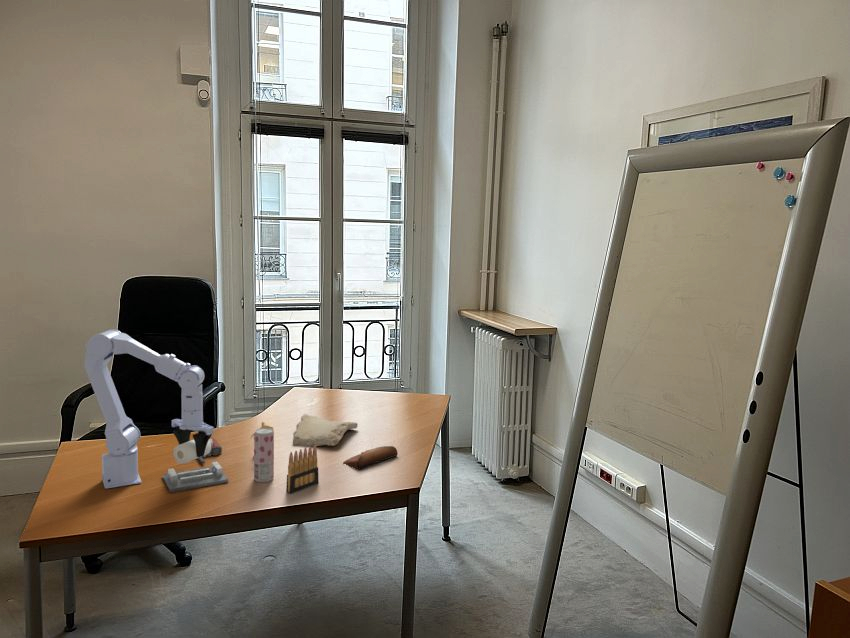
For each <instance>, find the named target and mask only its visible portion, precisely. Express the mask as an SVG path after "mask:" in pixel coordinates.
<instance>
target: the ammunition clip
mask: <svg viewBox="0 0 850 638" xmlns="http://www.w3.org/2000/svg"><path fill="white" fill-rule="evenodd" d="M312 447H313V448H312ZM317 449H318V448H317V446H316V445H314V446H308V449H307V446H305V447H304V449H303V450H302V448H300V449H299V451H297V450H295V451H294V453H293V452H292V451H290V452H289V457H288V465H287V466H288V467H287V475H286V490H285V491H286V493H288V494H294V493H297V492H299V491H302V490H306V489H307V488H309V487H310V488H311V487H313V486H315V485H318V484H319V483H320V482H319V480H320V479H319V467H318V451H317Z"/></svg>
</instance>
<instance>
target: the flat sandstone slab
mask: <svg viewBox="0 0 850 638" xmlns="http://www.w3.org/2000/svg"><path fill="white" fill-rule="evenodd" d="M357 428H358V422H355V421H353V422H351V421H333V420H328V419H325V418H324V419H323V418H321V417H318V416H316V415H309V414H306V413H304V414H302V416H301V417H300V421H298V422H297V423H296V429H295V431H294V432H292V433H293V434H292V435H293V438H292V444H293V445H295V446H303V447H304V446H305V447H310V446H311V447H314V445H316V447H321V446H332V447H333V446H336V445H338V444H339V442H340V441H341V440H342V438H343V436H344V434H345V433H346V432H347V431H348V430H349V431H350V430H354V429H355V430H356V429H357Z"/></svg>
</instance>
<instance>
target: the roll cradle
mask: <svg viewBox="0 0 850 638" xmlns="http://www.w3.org/2000/svg"><path fill="white" fill-rule="evenodd" d="M162 479H163V481H164V483H165V485H166V486H167V488H168V491H169V493H176V492H181V491H186V490H187V489H188V490H193V489H199V488H204V487H205V488H206V487H210V486H216V485H221V484H227V483H229V478H228V476H226V474H225V473H224V472H223V467H222V466H221V465H220V463H219V462H218V461H212V462H211V466H207V467H200V468H194V469H188V470H181V471H176V470H175V469H174V468H172V467H171V468H168V469H167V473H163V474H162Z"/></svg>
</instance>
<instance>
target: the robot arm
mask: <svg viewBox="0 0 850 638" xmlns="http://www.w3.org/2000/svg"><path fill="white" fill-rule="evenodd" d="M84 348H85V349H86V351H85V356H84V362H83V366H84V369H85V371H86V374H87V377H88V379H89V382H90V384H91V385H90V386H91V387H92V390H93V393H94V395H95V398H96V400H97V403H98V406H99V408H100V410H101V414H102V415H103V417H104V421H105V423H106V424H105V425H106V426H105V430H104V435H105V438H106V439H105V441H106V442H105V448H106V450H107V452H108V453H102V454H101V471H102V472H101V480H102V483H103V487H104V489H110V488H111V489H112V488H118V487H125V486H131V485H136V484H141V483H142V479H141V477H140V474H139V459H138V458H139V455H138V453H139V452H138V445H137V443H138V442H139V441H140V439H141V431H140V429H139V428H138V426H136V425H135V424H134V422H133V419H132V418H130V417H128V416H127V415H126V413H125V409H124V407H123V403H122V401H121V399H120V396H119V394H118V391H117V389H116V386H115V383H114V381H113V378H112V376H111V372H110V369H109V367H108V363H110V361H111V359H112V358H113V356H114V355H123V354H127V355H128V354H129V355H131V356H133V357H135V358H137V359H140V360H141V361H144V362H146V363H148V364H150V365H153V366H154V369H155V372H157V373H158V374H161V375H162V376H165V377H167V378H169V379H170V380H172V381H174V382H177V384H178V385H179V387H180V388H181V394H180V395H181V398H180V399H181V419H180V418H174V419H172V420H171V428H175V429H173V430H172V434H173V435H174V436H175V438H176V440H177V443H178V445H180V444H183V443H186V442H188V441H191V434H192V431H194V432H197V433H195V434H192V439H193V440H194V441H195V445H196V455H197V457H201V456H204V453H205V449H206V446H207V443H208V441H209V439H210V437H212V435H213V434H214V433H215V431H214V429H215V427H214V426H212V425H210V424H207V423H206V422H204V411H203V409H204V408H203V405H204V404H203V403H204V401H203V398H204V397H203V395H204V394H203V384H202V383H203V382H204V380H205V377H206V376H205V372H204V370H203V368H201V367H200V366H198V365H195V364H194V365H191V363H189V362H184V361H182V360H180V359H178V358H177V357H176V355H175V354H173V353H171V354H169V353H165V354H159V353H158V352H156V351H154V350H152V349H151V348H149V347H148V346H146V345H144V344H143V343H141V342H139V341H137V340H136V339H134V338H132V337H131V336H130V335H129V334H127V333H125V332H121V331H120V330H119V329H115V328H111V329H107V330H106V331H104V332H101V333H96V334H93V336H90V338H89V340H88V341H87V342H86V343H85V345H84Z"/></svg>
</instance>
